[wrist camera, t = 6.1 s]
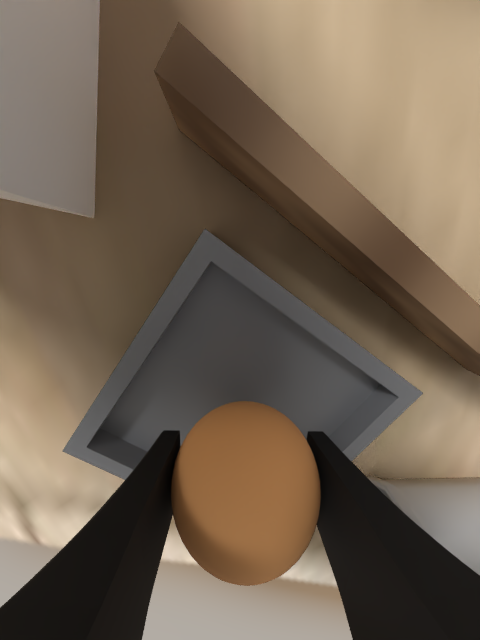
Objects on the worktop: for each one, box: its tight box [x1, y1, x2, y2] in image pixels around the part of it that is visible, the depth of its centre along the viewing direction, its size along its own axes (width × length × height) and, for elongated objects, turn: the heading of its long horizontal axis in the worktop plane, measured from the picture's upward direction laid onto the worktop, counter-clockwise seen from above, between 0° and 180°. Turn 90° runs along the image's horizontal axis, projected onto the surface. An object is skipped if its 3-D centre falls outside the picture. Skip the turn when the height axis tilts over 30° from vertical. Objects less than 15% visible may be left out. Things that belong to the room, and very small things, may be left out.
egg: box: [171, 401, 321, 586], centre depth 8 cm, size 5×5×5 cm
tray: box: [63, 229, 423, 480], centre depth 12 cm, size 12×12×2 cm
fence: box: [154, 22, 480, 376], centre depth 9 cm, size 18×1×3 cm, turn 54°
